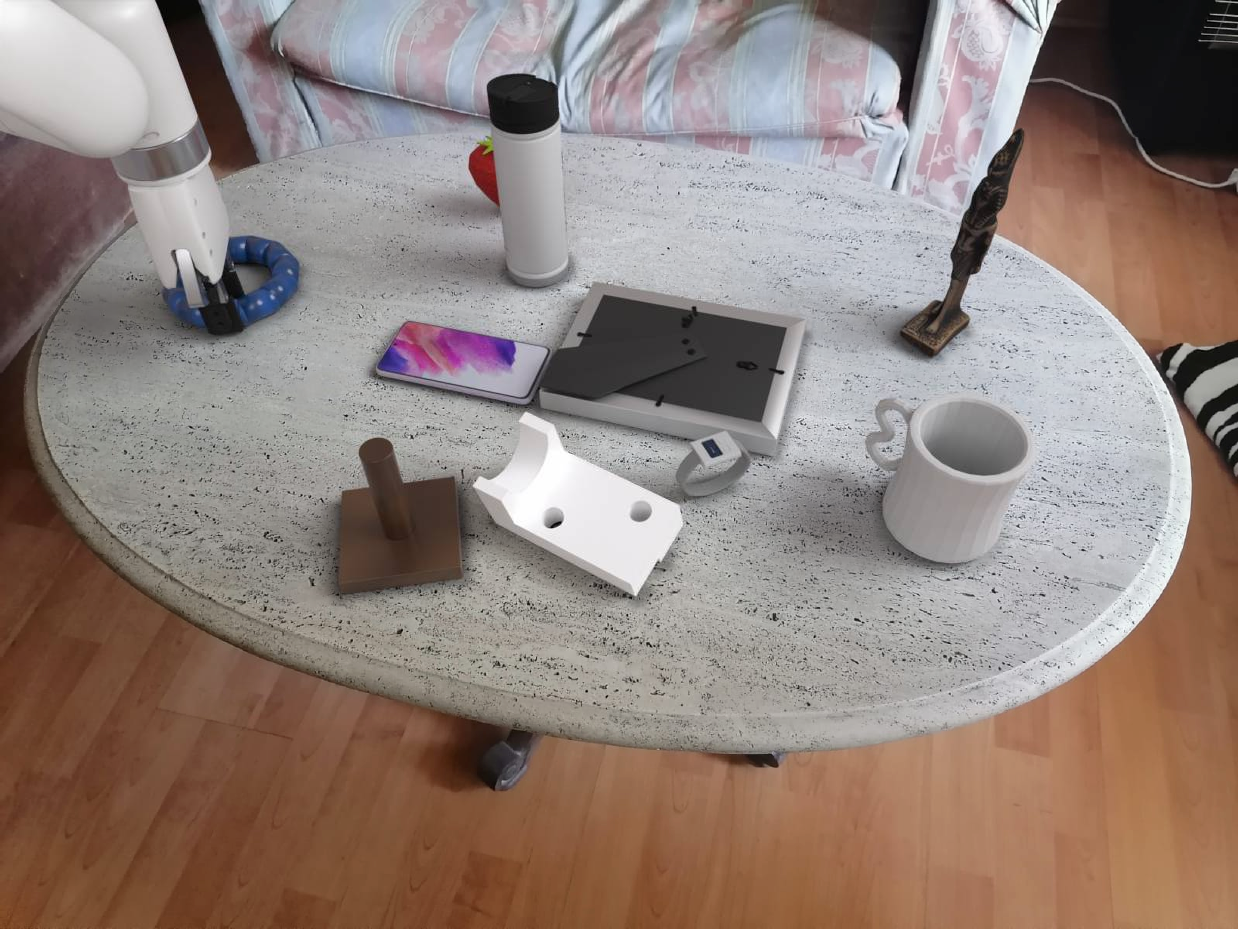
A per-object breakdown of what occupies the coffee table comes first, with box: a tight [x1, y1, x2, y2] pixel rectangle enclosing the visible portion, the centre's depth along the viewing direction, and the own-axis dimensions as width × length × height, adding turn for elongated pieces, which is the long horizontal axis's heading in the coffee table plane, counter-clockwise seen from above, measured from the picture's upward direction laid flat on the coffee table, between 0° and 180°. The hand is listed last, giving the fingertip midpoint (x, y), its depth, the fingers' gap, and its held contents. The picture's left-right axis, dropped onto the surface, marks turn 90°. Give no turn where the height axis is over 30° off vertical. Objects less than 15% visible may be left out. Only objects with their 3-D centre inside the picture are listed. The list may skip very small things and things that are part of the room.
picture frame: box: [538, 281, 808, 457], centre depth 86 cm, size 16×3×21 cm
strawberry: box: [467, 135, 500, 209], centre depth 100 cm, size 6×8×10 cm
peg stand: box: [337, 436, 464, 595], centre depth 70 cm, size 9×9×10 cm
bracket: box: [472, 411, 684, 597], centre depth 72 cm, size 13×7×8 cm, turn 58°
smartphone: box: [375, 320, 553, 405], centre depth 87 cm, size 7×1×15 cm
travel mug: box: [485, 72, 570, 288], centre depth 89 cm, size 6×7×20 cm
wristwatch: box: [675, 431, 752, 497], centre depth 76 cm, size 6×3×5 cm, turn 114°
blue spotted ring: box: [161, 234, 301, 329], centre depth 94 cm, size 13×13×3 cm
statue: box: [899, 127, 1026, 357], centre depth 82 cm, size 4×7×20 cm, turn 137°
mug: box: [864, 392, 1038, 564], centre depth 72 cm, size 12×9×10 cm
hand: (229, 318), depth 91 cm, fingers closed on blue spotted ring, 2 cm apart
